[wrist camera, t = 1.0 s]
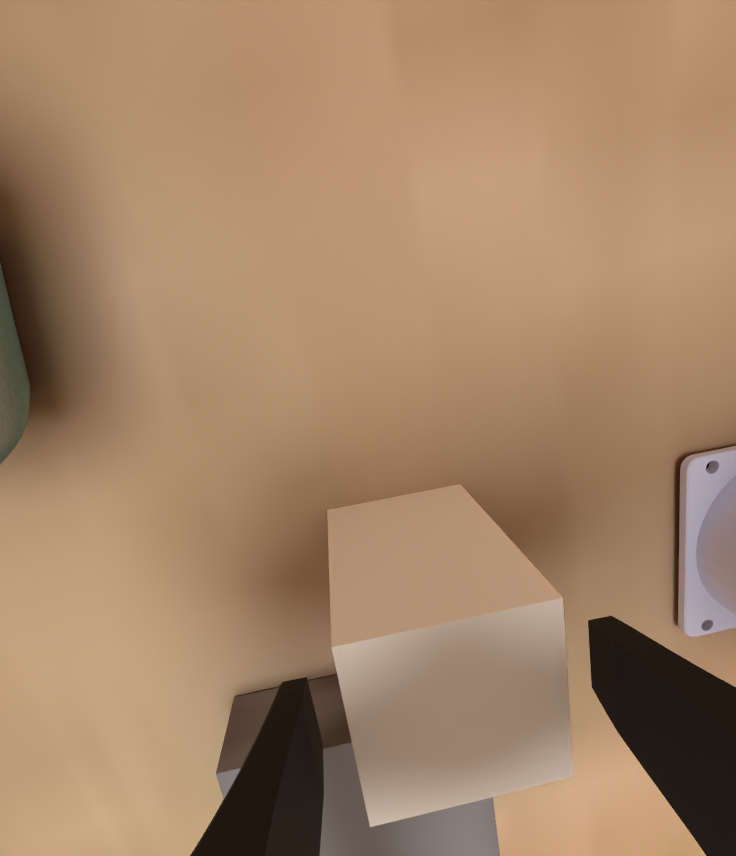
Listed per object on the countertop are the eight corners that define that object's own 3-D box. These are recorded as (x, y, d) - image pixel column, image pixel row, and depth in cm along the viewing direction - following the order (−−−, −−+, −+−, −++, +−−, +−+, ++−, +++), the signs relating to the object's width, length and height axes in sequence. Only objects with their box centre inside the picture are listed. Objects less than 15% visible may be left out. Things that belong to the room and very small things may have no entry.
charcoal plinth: (455, 648, 17) (482, 712, 14) (477, 813, 20) (505, 897, 17) (234, 697, 17) (216, 773, 14) (281, 861, 19) (274, 958, 16)
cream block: (460, 483, 16) (562, 597, 9) (473, 599, 17) (573, 777, 10) (327, 509, 16) (331, 647, 9) (350, 625, 17) (370, 827, 10)
